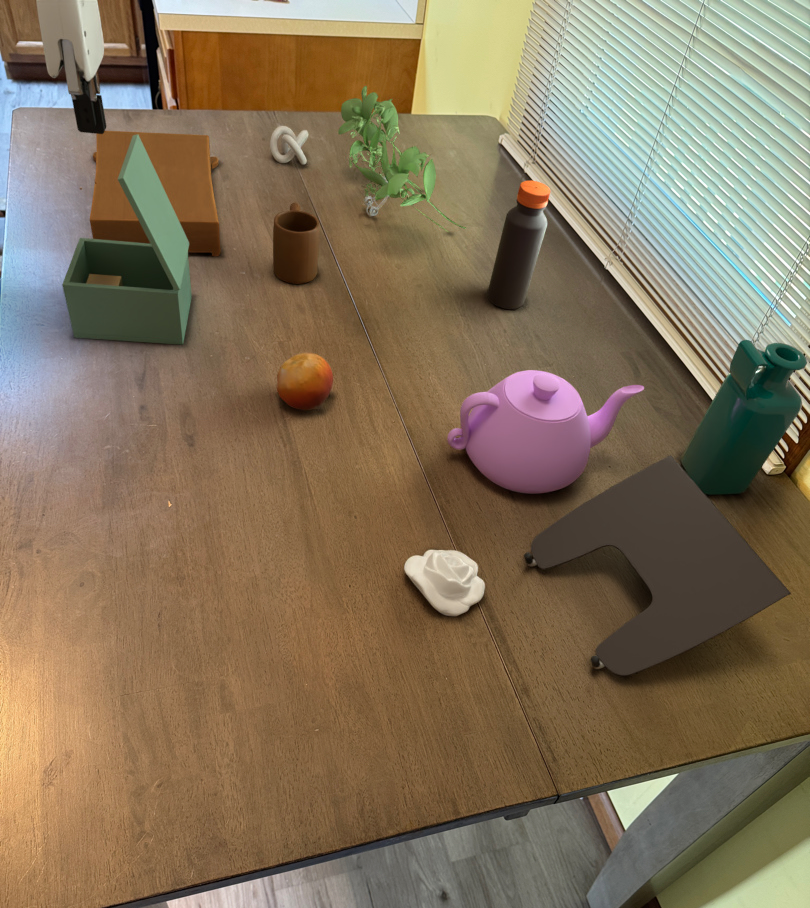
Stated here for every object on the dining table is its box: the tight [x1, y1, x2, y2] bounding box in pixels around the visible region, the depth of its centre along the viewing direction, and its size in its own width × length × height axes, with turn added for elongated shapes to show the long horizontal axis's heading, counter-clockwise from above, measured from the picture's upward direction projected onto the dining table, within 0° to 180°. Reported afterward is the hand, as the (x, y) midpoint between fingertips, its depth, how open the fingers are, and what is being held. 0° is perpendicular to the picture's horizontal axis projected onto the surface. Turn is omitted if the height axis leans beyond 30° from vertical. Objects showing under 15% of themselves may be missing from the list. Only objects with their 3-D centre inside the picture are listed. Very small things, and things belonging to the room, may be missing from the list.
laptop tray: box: [523, 454, 792, 677], centre depth 94 cm, size 23×23×9 cm
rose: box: [403, 549, 486, 617], centre depth 92 cm, size 10×4×10 cm
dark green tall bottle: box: [680, 339, 808, 496], centre depth 105 cm, size 10×8×22 cm
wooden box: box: [89, 130, 222, 257], centre depth 138 cm, size 23×6×35 cm
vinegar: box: [486, 180, 551, 310], centre depth 128 cm, size 7×7×20 cm
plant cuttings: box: [337, 85, 467, 233], centre depth 145 cm, size 35×17×22 cm
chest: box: [61, 237, 193, 346], centre depth 115 cm, size 16×13×9 cm
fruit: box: [276, 352, 334, 411], centre depth 110 cm, size 8×8×8 cm
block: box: [86, 274, 123, 286], centre depth 116 cm, size 5×5×5 cm
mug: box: [272, 202, 321, 285], centre depth 130 cm, size 12×8×9 cm, turn 7°
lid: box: [118, 134, 189, 291], centre depth 107 cm, size 16×13×1 cm
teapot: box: [446, 369, 645, 495], centre depth 105 cm, size 25×18×14 cm
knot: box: [269, 125, 309, 165], centre depth 156 cm, size 8×8×6 cm
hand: (92, 130), depth 98 cm, fingers closed
